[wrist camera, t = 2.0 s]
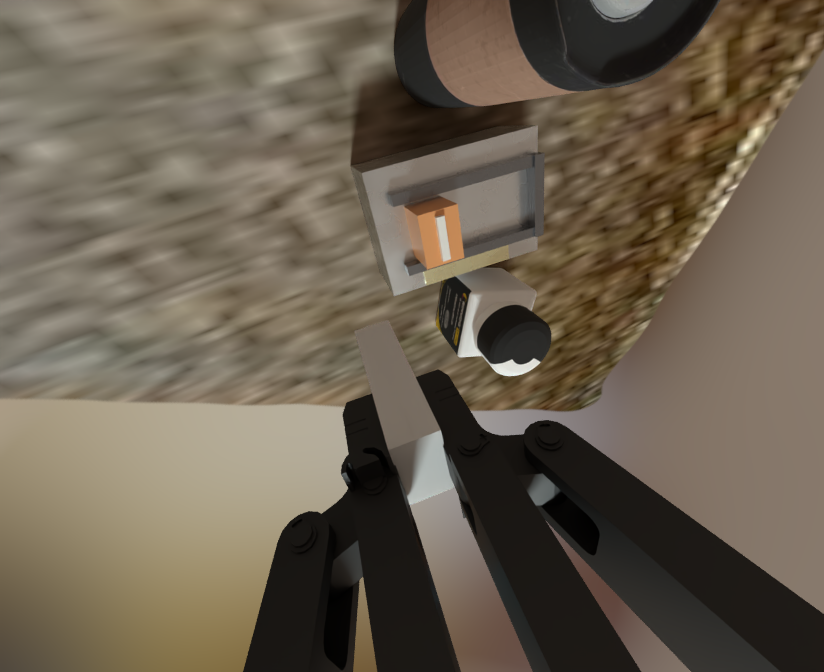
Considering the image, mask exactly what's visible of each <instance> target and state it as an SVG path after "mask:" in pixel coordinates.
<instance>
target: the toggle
mask: <svg viewBox="0 0 824 672" xmlns="http://www.w3.org/2000/svg"><path fill="white" fill-rule="evenodd" d="M404 210H405V214H406V219H407V224H408V229H409V233H410V238H411V243H412V248H413V252H414V256H415V257H416V258H417V259H418V260H419V261H420V262H421V263H422V264H423V265H424V266H425V267H426V268H427V270H428V269H431V268H434V267H437V266H440V265H443V264H446V263H450V262H453V261H456V260H459V259H462V258H464V251H463V243H462V235H461V227H460V219H459V211H458V204H456V203H454V202H452V201H450V200H448V199H446V198H443V197H441V196H438V197H435V198H432V199H428V200H425V201H421V202H418V203H414V204H411V205H407V206H404Z"/></svg>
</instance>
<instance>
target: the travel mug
mask: <svg viewBox="0 0 824 672" xmlns="http://www.w3.org/2000/svg"><path fill="white" fill-rule="evenodd" d="M719 2H720V0H412V1H411V3H410V4H409V6H408V7H407V9H406V10H405V12H404V13H403V15H402V17H401V20H400V22H399V24H398V27H397V31H396V36H395V43H394V56H395V64H396V69H397V72H398V75H399V78H400V80H401V82H402V84H403V86H404V88H405V89H406V90H407V92H408V93H409V94H410V95H411V96H412V97H413V98H414V99H415V100H416V101H418V102H419V103H421V104H423V105H425V106H428V107H433V108H455V107H477V106H489V105H496V104H503V103H509V102H516V101H523V100H529V99H536V98H542V97H549V96H556V95H562V94H569V93H576V92H582V91H589V90H596V89H602V88H611V87H620V86H625V85H629V84H632V83H635V82H638V81H641V80H643V79H645V78H647V77H649V76H651V75H653V74H655V73H656V72H658V71H660V70H661V69H663V68H664V67H666V66H667V65H668V64H669V63H671V62H672V61H673V60H674V59H676V58H677V57H678V56H679V55H680V54H681V53H682V52H683V51H684V50H685V49H686V48H687V47H688V46H689V45H690V43H691V42H692V41H693V40H694V39H695V37H696V36H697V35H698V34H699V32H700V31H701V30H702V28H703V27H704V26H705V24H706V23H707V21H708V20H709V18H710V17H711V15H712V13H713V12H714V10H715V8H716V7H717V5H718V3H719Z"/></svg>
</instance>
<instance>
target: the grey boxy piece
mask: <svg viewBox="0 0 824 672" xmlns="http://www.w3.org/2000/svg"><path fill="white" fill-rule="evenodd" d="M351 170H352V173H353V177H354V181H355V184H356V188H357V191H358V195H359V199H360V202H361V206H362V209H363V213H364V217H365V220H366V224H367V227H368V231H369V235H370V238H371V242H372V245H373V249H374V253H375V256H376V260H377V263H378V267H379V271H380V273H381V275H382V277H383V278H384V280H385V282H386V283H387V285H388V287H389V288H390V290H391V292H392V293H393V295H394V296H396V295H399V294H402V293H405V292H408V291H411V290H414V289H417V288H420V287H423V286H427V285H430V284H433V283H436V282H439V281H442V280H445V279H448V278H451V277H454V276H457V275H461V274H464V273H467V272H470V271H473V270H476V269H479V268H482V267H485V266H488V265H491V264H495V263H498V262H501V261H504V260H507V259H510V258H513V257H516V256H519V255H522V254H525V253H529V252H532V251H535V250H537V236H541V235H543V223H544V153H540V152H538V125H526V126H497V127H493V128H490V129H486V130H482V131H479V132H475V133H471V134H467V135H464V136H460V137H456V138H452V139H449V140H445V141H441V142H438V143H434V144H430V145H426V146H423V147H419V148H415V149H411V150H408V151H404V152H400V153H397V154H393V155H389V156H385V157H382V158H378V159H374V160H370V161H367V162H363V163H359V164H355V165H352V166H351ZM438 196H441V197H443V198H446V199H448V200H450V201H452V202H454V203H456V204H458V211H459V219H460V227H461V235H462V243H463V251H464V258H462V259H459V260H456V261H453V262H450V263H446V264H443V265H440V266H437V267H434V268H431V269H428V270H427V268H426V267H425V266H424V265H423V264H422V263H421V262H420V261H419V260H418V259H417V258H416V257H415V256H414V252H413V248H412V243H411V238H410V233H409V229H408V224H407V219H406V214H405V210H404V206H407V205H411V204H414V203H418V202H421V201H425V200H428V199H432V198H435V197H438Z"/></svg>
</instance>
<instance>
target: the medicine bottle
mask: <svg viewBox="0 0 824 672" xmlns="http://www.w3.org/2000/svg"><path fill="white" fill-rule="evenodd" d="M536 295H537V292H536V291H535V290H534V289H532V288H531V287H529V286H528V285H526V284H525V283H523V282H522V281H520V280H519V279H517V278H516V277H514V276H513V275H511V274H510V273H508V272H507V271H505V270H504V269H502V268H479V269H476V270H473V271H470V272H467V273H464V274H461V275H457V276H454V277H451V278H448V279H445V280H442V287H441V293H440V300H439V306H438V312H437V319H436V326H437V327H438V329H439V330H440V332H441V333H442V334H443V336H444V337H445V338H446V340H447V341H448V343H449V344H450V345H451V347H452V348H453V350H454V351H455V352H456V354H457V355H458V356H459V357H472V356H483V357H484V358H485V360H486V361H487V362H488V363H489V364H490V366H491V367H492V368H493V369H494V370H495V371H496V372H497V373H499V374H501V375H505V376H516V375H521V374H524V373H526V372H528V371H530V370H532V369H533V368H534V367H536V366H537V365H538V364H539V363H540V362H541V361H542V360H543V359H544V357H545V356H546V354H547V352H548V350H549V348H550V344H551V330H550V328H549V326H548V324H547V323H546V322H545V321H543V320H542V319H541V318H540V317H538V316H537V315H536V314H534V313H533V312H532V308H533V305H534V301H535V298H536Z"/></svg>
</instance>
